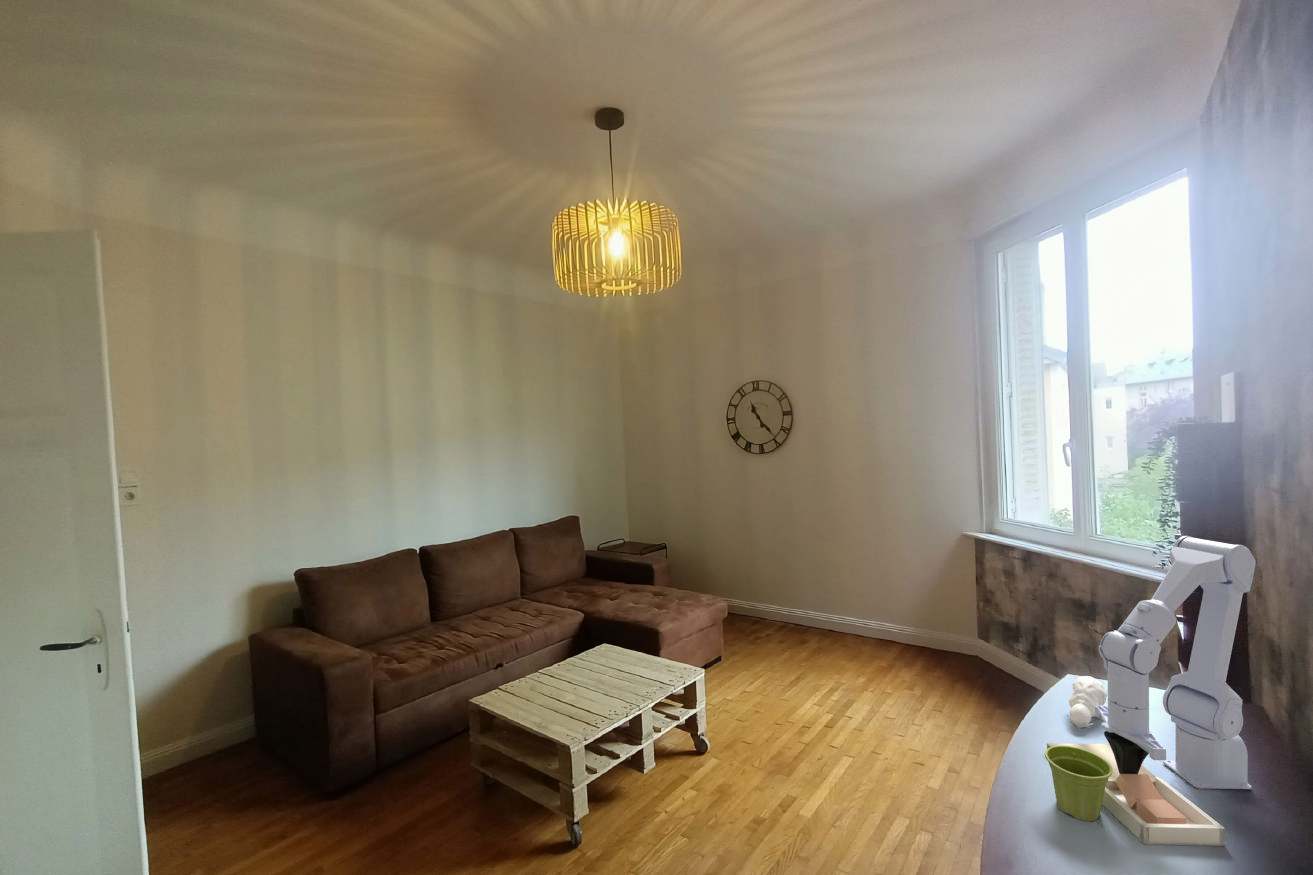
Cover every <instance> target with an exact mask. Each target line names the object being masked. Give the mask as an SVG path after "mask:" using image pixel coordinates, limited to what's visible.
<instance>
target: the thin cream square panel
mask: <svg viewBox="0 0 1313 875" xmlns="http://www.w3.org/2000/svg"><path fill="white" fill-rule="evenodd" d="M1052 746H1072V747H1077V748H1081V749H1084V750H1087V751H1090V752H1092V753H1094V754H1096V755H1098V756H1100V757H1102V758H1103V759H1105V760H1106V761H1107V762H1108V763H1109V764H1110V765H1111V767H1112V769H1113V773H1112V775H1111V776H1110V777H1109V779H1108V781H1107V783H1106V786H1105V787H1106V788H1107V789H1108V790H1120V789H1119V787H1118V786H1117V784H1116V782H1115V781H1116V779H1117V778H1118V776H1119V775H1120V774H1119V771H1118V767H1117V764H1116V760H1115V757H1114V754H1113V751H1112V749H1111V746H1110V744H1109V743H1059V742H1058V743H1053V742H1051V743H1049V742H1048V743H1046V750H1047V749H1048V748H1050V747H1052ZM1138 774H1147V775H1148V776H1149V778H1150V779H1151V781H1152V783H1153V784H1154V786H1155V777H1157V776H1156V775H1155V774H1154V773H1152V772H1151V771H1150V770H1149V769H1147V768H1146V767H1145V766H1144V765H1141V767H1140V770H1139V773H1138Z"/></svg>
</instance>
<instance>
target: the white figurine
mask: <svg viewBox="0 0 1313 875" xmlns="http://www.w3.org/2000/svg"><path fill="white" fill-rule="evenodd" d="M1071 686H1072V689H1073V693H1072V694H1071V696H1070V697H1069V700H1068V705H1069V707H1070V709H1069V715H1067V714H1066V715H1067V717H1068V718H1069V720H1070V722H1071V723H1073V724H1074V725H1075V726H1077V728H1079V729H1082V728H1090V729H1091V728H1092V727H1091V726H1093V725H1094V724H1095V722H1094V723H1092V722H1091V720H1092V717H1093V718H1094V717H1096V716H1095V706H1104V705H1105V703H1107V698H1108V691H1107V690H1106V689H1105V687H1104V685H1103V683H1102V682H1101V681H1100V680H1098V679H1096V678H1095V677H1093V676H1088V675H1083V676H1078V677H1077V678H1076V679H1075V681H1074V682H1072V683H1071ZM1098 719H1099V720H1101V721H1103V719H1102V718H1098Z"/></svg>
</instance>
